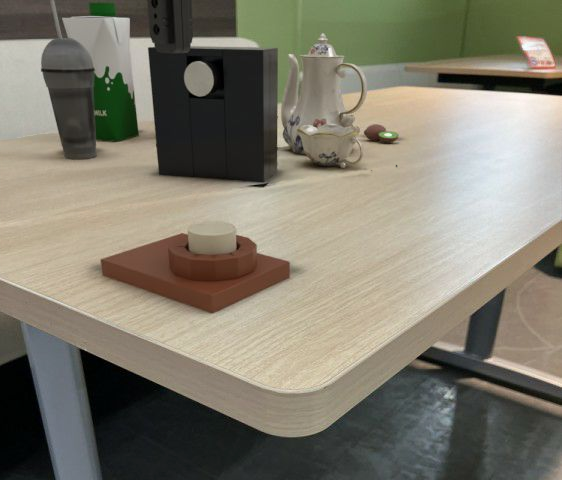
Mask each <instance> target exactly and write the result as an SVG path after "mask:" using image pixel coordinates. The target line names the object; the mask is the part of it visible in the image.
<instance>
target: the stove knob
mask: <svg viewBox="0 0 562 480" xmlns="http://www.w3.org/2000/svg"><path fill="white" fill-rule="evenodd" d="M184 81H185V85H186V87H187V89H188V90H189V91H190V92H191V93H192V94H193V95H195V96H206V95H209V94H213V93H214V92H216V91H217V90H218V88H219V87H220V84H221V73H220V70H219V69H218V67H217V66H216V65H215V64H214V63H213V62H211V61H208V60H203V61H196V62H192V63H191V64H189V65H188V67H187V68H186V70H185V73H184Z"/></svg>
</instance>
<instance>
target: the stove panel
mask: <svg viewBox="0 0 562 480" xmlns="http://www.w3.org/2000/svg"><path fill="white" fill-rule="evenodd" d="M147 52H148V53H147V54H148V64H149V76H150V77H149V78H150V87H151V88H150V89H151V99H152V109H153V110H152V111H153V112H152V113H153V122H154V133H155V145H156V158H157V170H158V175H159V176H168V177H181V178H183V177H184V178H194V179H195V178H196V179H197V178H198V179H199V178H200V179H208V180H209V179H210V180H211V179H212V180H225V181H237V182H252V183H258V184H251V185H248V187H254V188H265V187H266V186H268V185H269V184H270V182H267V181H268V180H269V179H270V178H272V177H273V176H275V175H277V173H278V118H277V116H278V101H279V99H278V95H279V93H278V91H279V90H278V89H279V88H278V85H279V84H278V83H279V80H278V78H279V76H278V75H279V63H278V62H279V48H278V47H258V46H257V47H255V46H254V47H253V46H252V47H251V46H211V45H210V46H209V45H207V46H202V45H191V47H190V51H189V52H188V53H160V52H158V51H157V50H156V49H155V46H148V47H147ZM203 60H208V61H211V62H213V63H214V64H215V65H216V66H217V67H218V69H219V70H220V73H221V84H220V87H219V88H218V90H217V91H216V92H214V93H213V94H209V95H206V96H195V95H193V94H192V93H191V92H190V91H189V90H188V89H187V87H186V85H185V81H184V73H185V70H186V68H187V67H188V65H189V64H191V63H192V62H196V61H203Z"/></svg>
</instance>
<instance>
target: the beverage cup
mask: <svg viewBox="0 0 562 480" xmlns="http://www.w3.org/2000/svg"><path fill="white" fill-rule="evenodd" d="M49 2H50V7H51V11H52V16H53V22H54V26H55V29H56V34H57V38H54V39H52V40H50V41H49V42H48V43H47V44H46V45H45V47H44V48H43V51H42V54H41V59H40V65H41V67H40V72H41V73H42V77H43V80H44V83H45V86H46V88H47V90H48V95H49V99H50V103H51V107H52V111H53V115H54V116H53V117H54V119H55V124H56V127H57V132H58V136H59V140H60V145H61V147H62V150H63V153H64V158H66V159H71V160H86V159H93V158H95V157H97V140H96V131H95V111H94V92H93V86H94V71H95V69H94V67H93V62H92V59H91V57H90V55H89V53H88V51H87V50H86V49H85V47H84V46H83V45H82V44H80V43H79V42H78V41H76V40H74V39H72V38H68V37H63V35H62V31H61V30H62V29H61V26H60V21H59V16H58V12H57V7H56V3H55V0H49Z"/></svg>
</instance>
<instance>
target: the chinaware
mask: <svg viewBox="0 0 562 480" xmlns="http://www.w3.org/2000/svg"><path fill="white" fill-rule="evenodd" d="M316 41H317V42H318V43H316V44H313V45H312V46H311V47H310V48H309V49H310V50H309V52H308V53H307V54H300V55H299V57H300V61H301V68H302V78H301V87H300V88H301V89H300V93H299V84H300V83H299V81H300V67H299V62H298V59H297V57H296V56H295V54H294V53H286V54H285V56H286V58H287V60H288V63H289V71H288V76H287V80H286V84H285V87H284V91H283V94H282V100H281V105H280V106H281V107H280V109H281V110H280V118H281V119H280V120H281V124H282V127H283V131H282V137H283V140H284V141H285V143H286V144H287V145H288V146H289V148H290V149H291V151H292V152H294V153H296V154H300V155H306V156H307V158H308V159H309V160H310V161H311V162H312V163H314V164H316V165H318V166H321V167H334V166H336V165H339V167H340V168H341V169H344V168H346V167H347V165H346V162H347V163H348V164H351V165H355V164H358V163H359V162H360V161H361V160H362V158H363V155H364V147H363V144H362V141H360V140H359V139H357V138H358V135H359V134H360V131H361V129H360V127H359V126H354V125H353V124H354V123H355V120H356V115H354V113H356V112H357V111H358V110H360V109H361V108H362V106H363V104H364V102H365V101H366V99H367V94H368V81H367V78H366V74H365V73H364V71H363V70H362V69H361V68H360V67H359V66H358V65H356V64H353V63H348V62H344V58H345V57H346V55H338V54H337V52H336V50H335V47H334V46H333V45H332V44H329V43H328V42H329V38H327V36H326V34H325V33H321V34H320V35H319V38H318V39H317V40H316ZM344 67H345V68H348V69H352V70H353V71H354V72H356V73H357V75H358V77H359V80H360V85H361V92H360V96H359V99H358V102H357V103H356V105H355V106H353V107H352V108H350V109H348V110H346V107H345V105H344V102H343V100H344V99H343V95H342V90H341V89H342V88H341V79H344V78H345V77H347V75H348V70H347V69H342V68H344ZM277 119H279V116H278V115H277ZM356 143H357V144H358V146H359V151H360V153H359V157H358V159H357V160H355V161H352V160H349V159H347V158H348V157H349V155H350V154H351V153H352V150H353V148H354V145H356Z"/></svg>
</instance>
